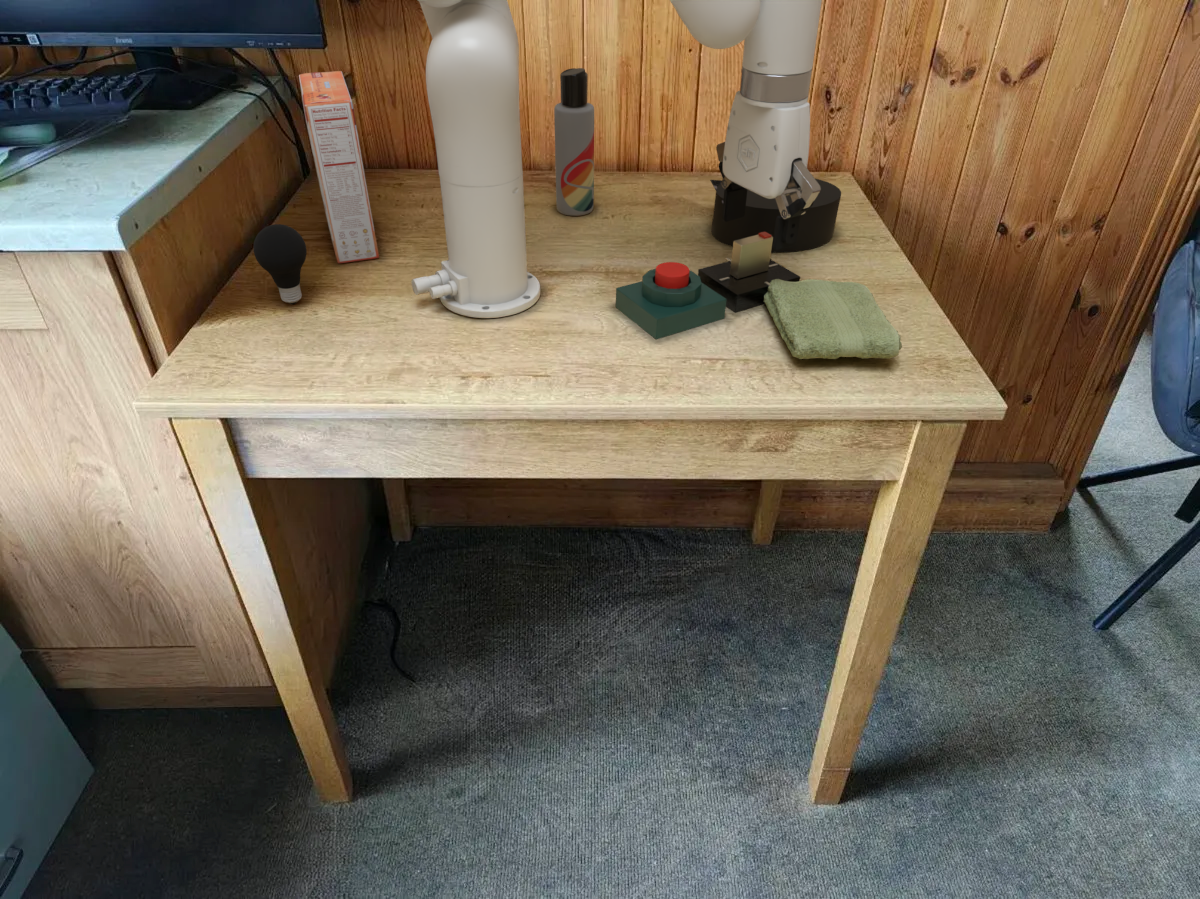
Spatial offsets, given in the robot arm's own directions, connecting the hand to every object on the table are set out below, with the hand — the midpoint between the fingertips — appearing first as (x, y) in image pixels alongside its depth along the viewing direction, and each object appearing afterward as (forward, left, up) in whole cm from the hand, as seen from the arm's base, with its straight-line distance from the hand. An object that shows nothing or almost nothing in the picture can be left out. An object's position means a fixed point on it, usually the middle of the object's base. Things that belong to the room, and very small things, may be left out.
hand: (757, 232), depth 103 cm
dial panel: (0, 0, -8) cm, 8 cm away
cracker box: (-39, +39, -8) cm, 56 cm away
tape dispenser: (+15, +13, -8) cm, 21 cm away
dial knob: (0, 0, -5) cm, 5 cm away
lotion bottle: (-6, +34, -8) cm, 36 cm away
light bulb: (-51, +25, -8) cm, 58 cm away
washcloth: (+1, -13, -7) cm, 15 cm away
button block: (-12, 0, -8) cm, 15 cm away
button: (-12, 0, -4) cm, 13 cm away
